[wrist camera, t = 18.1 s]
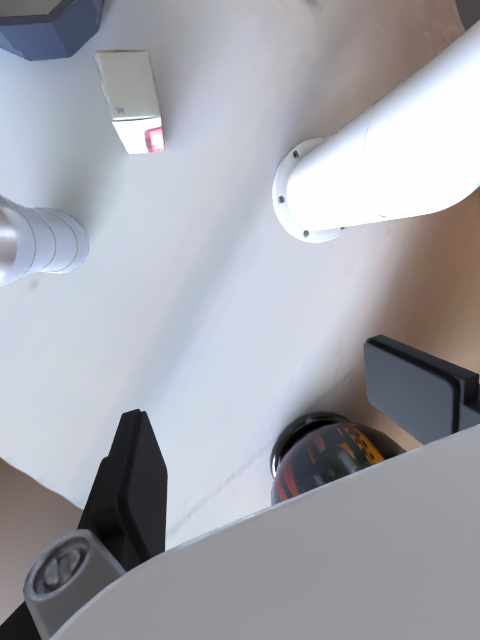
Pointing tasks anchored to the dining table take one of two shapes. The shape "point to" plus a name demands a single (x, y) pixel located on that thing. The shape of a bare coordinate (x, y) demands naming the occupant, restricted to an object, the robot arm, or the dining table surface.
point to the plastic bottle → (38, 241)
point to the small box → (131, 98)
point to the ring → (52, 30)
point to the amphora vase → (324, 453)
